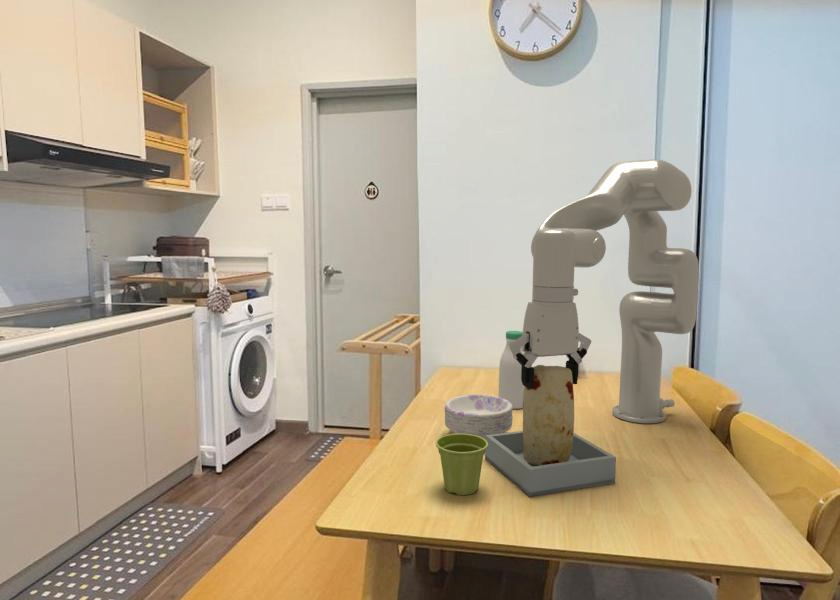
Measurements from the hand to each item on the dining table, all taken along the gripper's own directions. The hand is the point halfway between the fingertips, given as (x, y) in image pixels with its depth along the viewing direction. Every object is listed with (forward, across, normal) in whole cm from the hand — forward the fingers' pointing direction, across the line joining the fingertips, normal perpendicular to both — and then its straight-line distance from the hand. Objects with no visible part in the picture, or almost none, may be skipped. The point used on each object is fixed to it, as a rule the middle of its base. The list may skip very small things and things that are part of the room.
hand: (549, 384), depth 110 cm
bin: (+17, 0, 0) cm, 17 cm away
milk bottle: (+17, -14, -40) cm, 46 cm away
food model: (+16, 0, 0) cm, 16 cm away
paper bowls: (+17, +5, -21) cm, 28 cm away
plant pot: (+17, +19, +2) cm, 26 cm away
